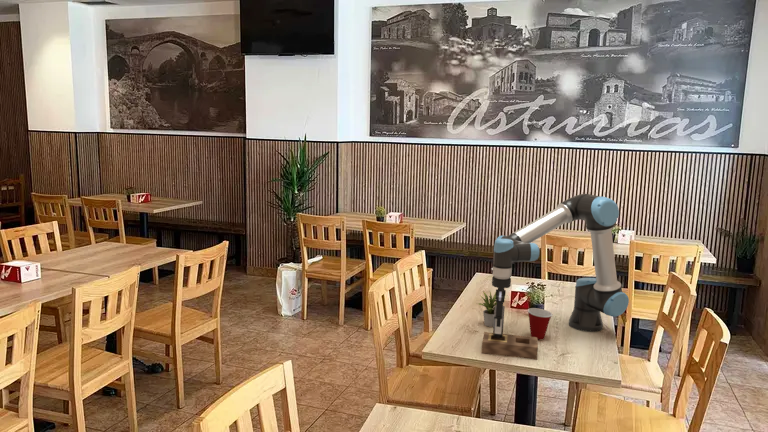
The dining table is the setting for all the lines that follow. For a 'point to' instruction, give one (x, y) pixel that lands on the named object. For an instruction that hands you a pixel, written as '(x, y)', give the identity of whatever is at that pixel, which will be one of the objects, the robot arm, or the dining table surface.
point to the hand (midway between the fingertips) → (498, 331)
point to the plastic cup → (539, 322)
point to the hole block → (510, 346)
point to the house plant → (489, 310)
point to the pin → (502, 324)
